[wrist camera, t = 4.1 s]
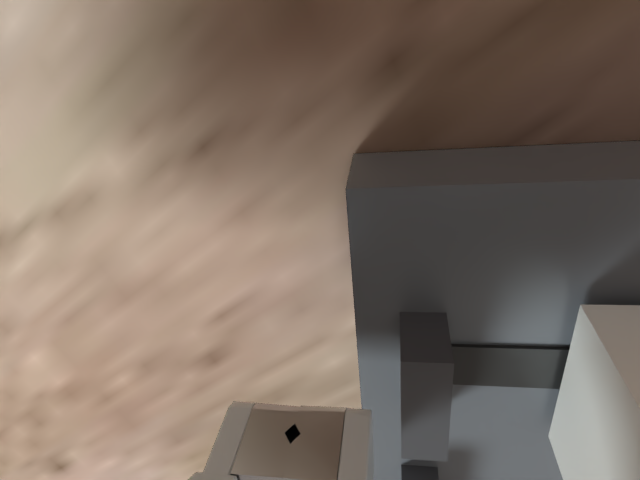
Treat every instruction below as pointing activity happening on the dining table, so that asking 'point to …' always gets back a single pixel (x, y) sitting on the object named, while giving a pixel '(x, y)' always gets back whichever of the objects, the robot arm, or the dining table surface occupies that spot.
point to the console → (482, 296)
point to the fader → (600, 397)
